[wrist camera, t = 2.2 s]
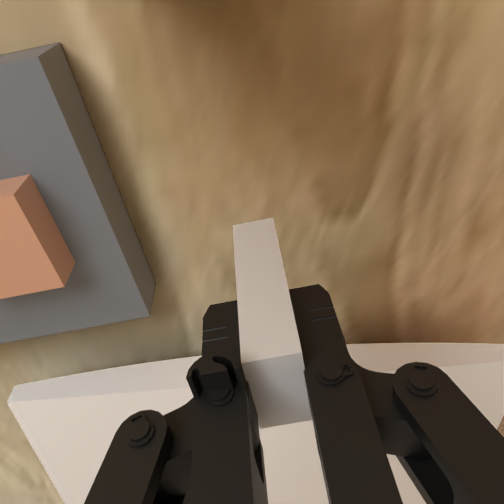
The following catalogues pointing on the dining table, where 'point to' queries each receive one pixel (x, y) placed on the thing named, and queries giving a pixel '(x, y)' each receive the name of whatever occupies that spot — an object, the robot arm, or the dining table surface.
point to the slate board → (68, 201)
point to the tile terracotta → (29, 241)
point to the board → (179, 393)
